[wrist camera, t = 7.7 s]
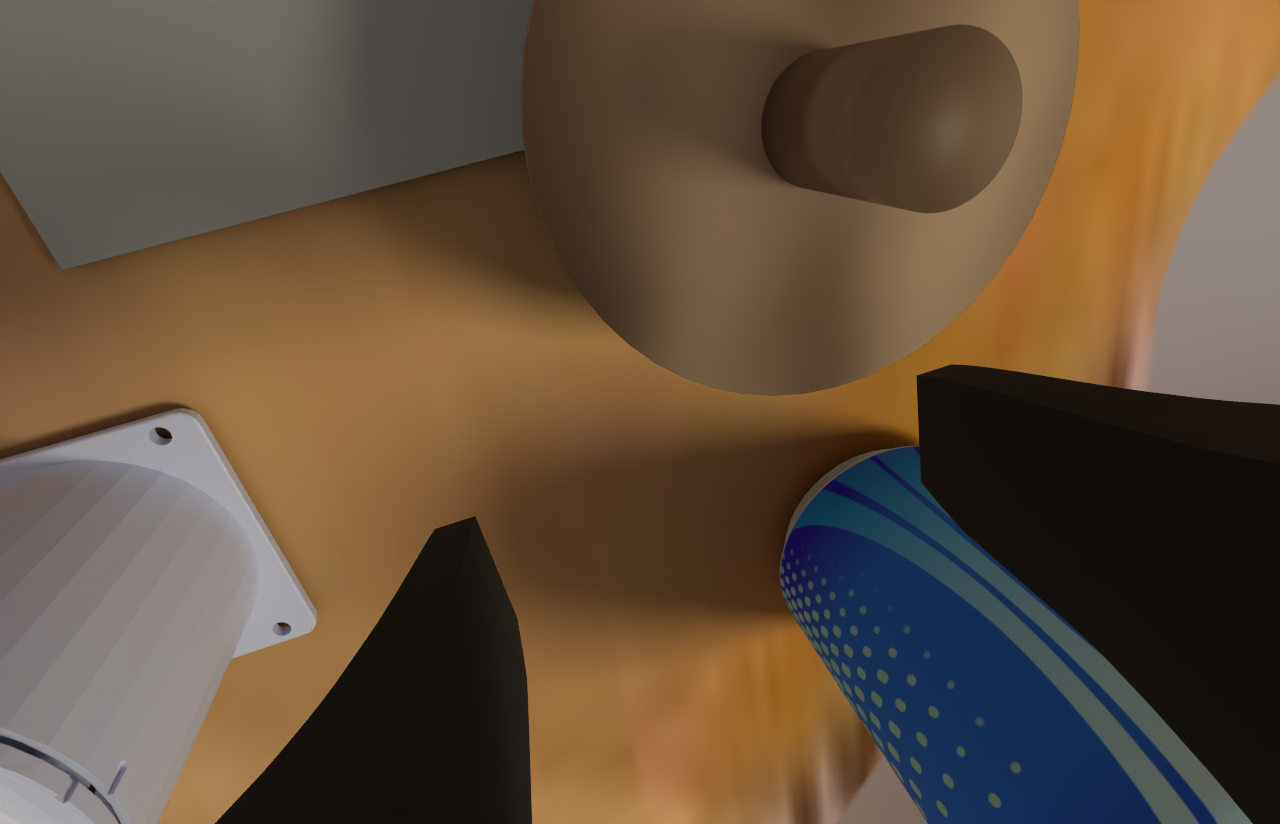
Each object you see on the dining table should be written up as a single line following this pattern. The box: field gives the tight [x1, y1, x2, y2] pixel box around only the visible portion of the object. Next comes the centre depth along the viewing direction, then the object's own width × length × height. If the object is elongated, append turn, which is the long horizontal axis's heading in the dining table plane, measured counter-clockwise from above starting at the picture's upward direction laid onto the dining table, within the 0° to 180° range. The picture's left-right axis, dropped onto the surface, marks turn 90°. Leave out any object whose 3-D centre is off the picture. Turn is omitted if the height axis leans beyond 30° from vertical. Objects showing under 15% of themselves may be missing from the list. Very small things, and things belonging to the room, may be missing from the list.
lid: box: [520, 0, 1080, 396], centre depth 12 cm, size 12×12×5 cm
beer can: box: [780, 446, 1253, 824], centre depth 18 cm, size 8×8×16 cm
